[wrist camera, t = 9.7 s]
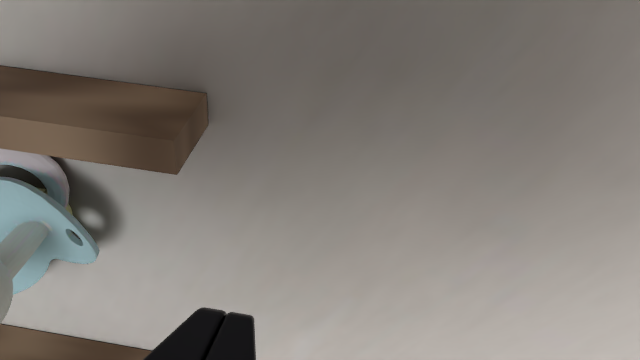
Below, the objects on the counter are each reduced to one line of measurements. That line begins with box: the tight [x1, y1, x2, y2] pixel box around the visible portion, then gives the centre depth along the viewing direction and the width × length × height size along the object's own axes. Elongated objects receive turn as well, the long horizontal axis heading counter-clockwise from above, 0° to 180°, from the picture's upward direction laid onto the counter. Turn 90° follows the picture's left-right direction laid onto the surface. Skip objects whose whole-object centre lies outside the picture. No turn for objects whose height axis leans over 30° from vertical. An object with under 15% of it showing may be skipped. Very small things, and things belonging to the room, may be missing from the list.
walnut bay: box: [0, 66, 208, 360], centre depth 23 cm, size 15×16×3 cm
